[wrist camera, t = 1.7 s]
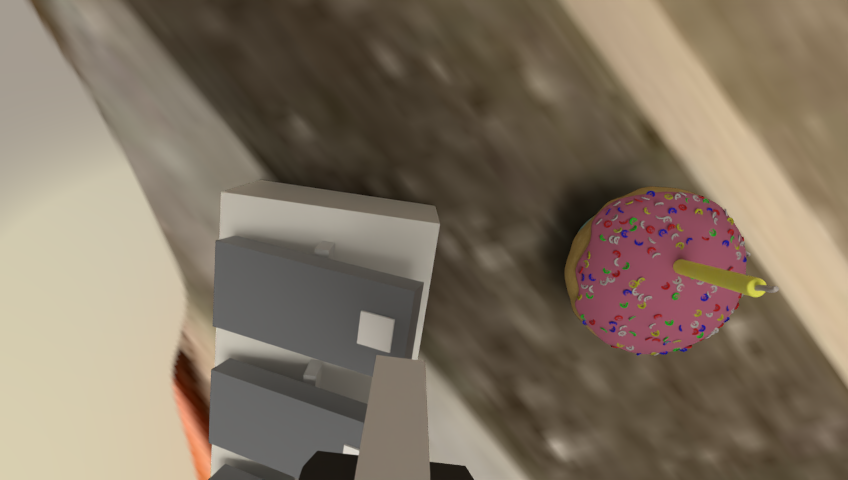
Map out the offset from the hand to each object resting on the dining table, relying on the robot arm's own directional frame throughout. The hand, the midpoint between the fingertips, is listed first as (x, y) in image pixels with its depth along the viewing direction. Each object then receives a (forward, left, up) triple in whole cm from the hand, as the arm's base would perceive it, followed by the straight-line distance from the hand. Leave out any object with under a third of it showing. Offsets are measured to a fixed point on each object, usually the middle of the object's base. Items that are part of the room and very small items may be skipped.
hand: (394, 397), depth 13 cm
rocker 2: (+6, -4, -5) cm, 9 cm away
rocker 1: (0, -4, -5) cm, 6 cm away
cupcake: (-3, +12, -13) cm, 18 cm away
